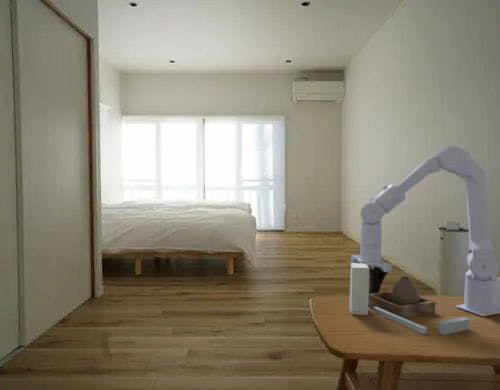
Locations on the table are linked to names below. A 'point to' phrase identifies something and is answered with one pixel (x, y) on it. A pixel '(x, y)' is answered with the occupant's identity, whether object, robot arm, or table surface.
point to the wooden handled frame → (403, 311)
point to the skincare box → (359, 288)
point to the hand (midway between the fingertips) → (369, 291)
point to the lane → (444, 327)
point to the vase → (405, 292)
